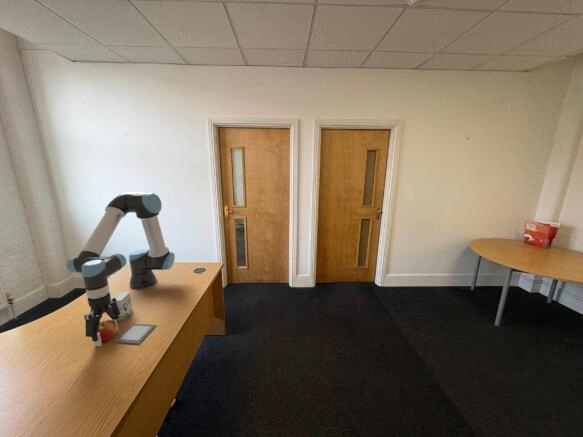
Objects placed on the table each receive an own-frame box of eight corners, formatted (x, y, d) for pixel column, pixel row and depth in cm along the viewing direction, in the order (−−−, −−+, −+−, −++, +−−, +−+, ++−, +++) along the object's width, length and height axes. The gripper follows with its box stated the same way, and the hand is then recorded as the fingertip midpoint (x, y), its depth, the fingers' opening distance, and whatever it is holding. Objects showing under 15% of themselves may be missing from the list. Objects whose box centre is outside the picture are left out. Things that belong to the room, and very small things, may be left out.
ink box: (124, 320, 115) (121, 300, 113) (113, 321, 115) (110, 301, 112) (133, 310, 124) (130, 291, 121) (123, 310, 123) (120, 291, 120)
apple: (121, 331, 108) (118, 313, 106) (112, 344, 100) (108, 325, 98) (102, 333, 106) (98, 315, 104) (91, 346, 99) (87, 327, 96)
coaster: (133, 324, 113) (133, 323, 113) (156, 325, 112) (156, 324, 112) (113, 342, 101) (113, 341, 101) (139, 344, 101) (139, 343, 100)
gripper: (110, 282, 108) (117, 322, 114) (65, 309, 88) (77, 356, 93) (125, 283, 108) (131, 323, 113) (84, 310, 88) (94, 357, 93)
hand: (107, 338), depth 103 cm, fingers closed on apple, 8 cm apart
